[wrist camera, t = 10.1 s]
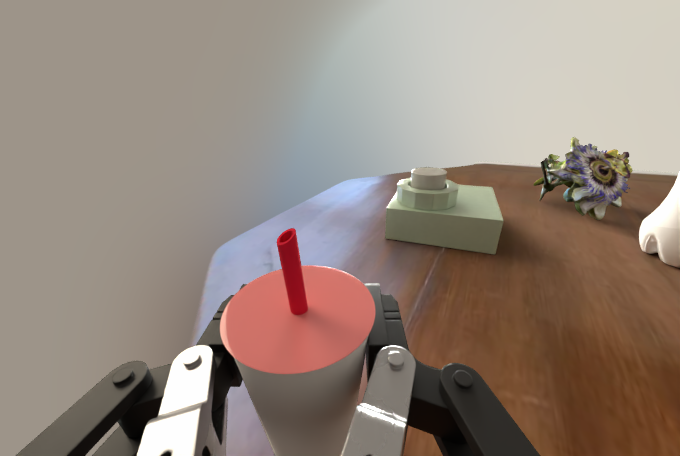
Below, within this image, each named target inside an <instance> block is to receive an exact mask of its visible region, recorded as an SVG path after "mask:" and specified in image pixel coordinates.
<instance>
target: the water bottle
mask: <svg viewBox="0 0 680 456" xmlns="http://www.w3.org/2000/svg"><path fill="white" fill-rule="evenodd" d="M639 242H640V246H641V249H642V250H643V251H644V252H646V253H649V254H653V253H658V255H659V258H660V260H661V261H663V262H664V263H666V264H668V265H671V266H674V267H678V268H680V172H679V175H678V177H677V180H676V182H675V185H674V186H673V188H672V190H671V191H670V193H669V195H668V196H667V197H666V199H665V200H664V201H663V202H662V204H661V205H660V206H659V207H658V208H657V209H656V210H655V211H654V212H652V213H651V214H650V215H649V216H647V217H646V218H645V219H644V220H643V221H642V224H641V227H640V231H639Z"/></svg>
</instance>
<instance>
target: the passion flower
mask: <svg viewBox="0 0 680 456" xmlns="http://www.w3.org/2000/svg"><path fill="white" fill-rule="evenodd" d="M606 152H607V151H605V152H603V151H601V152H600V151H597V147H596V146H592V144H588V146H587V145H585V146H582V145H580V144H579V140H578V139H576V138H574V137H573V138H572V139H571V152H569V153H567V154H566V155H565V156H566V160H565V161H563V162H559V161H554V160H557V159H558V158H559V156H556V155H553V154H550V155H549V157H548V159H547V158H546V159H545V160H544V161H542V162H541V168H542V171H543V175H544V177H542V178H541V179H539V180H537V181H536V182H535V183H534V186H536V185H540V184H543V189H542V192H541V196H540V200H541V199H542V198H543V196H544V194H545V193H546V192H548V191H551V190H553V189H554V188H555V187H556V186H558V185H562V184H565V185H566V186H568V187H570V188H568V189H567V190H566V192H565V193H564V196H563V197H564V199H565V200H566V201H567V202H574V203H575V207H576V210H577V211H578V212H579V213H580V214H581V215H583V216H584V215H585V214H586V213H588V214H589V215H590V216H591V217H593V218H594V219H596V220H600V219H602V218H603V217H604V214H605V210H606V206H608V205H609V204H611V205H613V206H616V207H620V206H621V198H620V197H621V196H622V193H623V192H625V190H627V188H628V187H627V186H628V185H627V184H626V182H627V180H628V178H629V177H630V173H631V172H632V168H631V166H630V165H629V164H628V162H629V160H628V159H627V158H628V157H629V153H628V152H624V153H623V154H622V155H620V154H618V150H611V151H608V152H607V153H606ZM616 157H617V158H616ZM549 164H551V167H548V165H549ZM545 169H547V171H548V172H547V173H548V174H547V175H546V171H545ZM555 179H558V180H557V181H555V182H554V183H552V181H554V180H555ZM560 181H561V182H560ZM629 189H630V188H629ZM626 193H628V192H626ZM619 196H620V197H619Z"/></svg>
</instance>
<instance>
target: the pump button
mask: <svg viewBox="0 0 680 456" xmlns="http://www.w3.org/2000/svg"><path fill="white" fill-rule="evenodd" d="M446 177H447V171H445V170H443V169H439V168H430V167H428V168H427V167H424V168H416V169H413V170H412V171H411V183H410V187H412V188H416V189H419V190H431V191H432V190H442V189H445V184H446Z"/></svg>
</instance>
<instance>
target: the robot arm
mask: <svg viewBox="0 0 680 456" xmlns="http://www.w3.org/2000/svg"><path fill="white" fill-rule="evenodd" d="M246 285H247V284H243V285H242V286H241V288H240V290H241V289H242V288H243V287H244V286H246ZM364 285H365V286H366V288H367V289H368V290H369V292H370V293H371V295H372V297H373V300H374V303H375V320H374V324H373V327H372V329H371V331H370V333H369V335H368V341H367V346H366V365H367V381H368V385H367V388H366V391H365V394H364V397H363V400H362V403H361V405H358V406H357V408H356V410H355V413H354V416H353V419H352V422H351V425H350V428H349V431H348V434H347V437H346V440H345V443H344V446H343V449H342V452H341V455H340V456H403V454H404V448H405V441H406V435H407V428H408V425H409V426H411V427H414V428H417V429H419V430H422V431H425V432H427V433H430V434H433V436H434V438H435V440H436V442H437V444H438V446H439V448H440V450H441V452H442V455H443V456H540V455H539V453H538V452H537V451H536V449H535V448H534V447H533V445H532V444H531V443H530V441H529V440H528V439H527V437H526V436H525V435H524V433H523V432H522V431H521V429H520V428H519V427H518V425H517V424H516V423H515V421H514V420H513V419H512V417H511V416H510V415H509V413H508V412H507V411H506V409H505V408H504V407H503V405H502V404H501V403H500V401H499V400H498V399H497V397H496V396H495V395H494V393H493V392H492V391H491V389H490V388H489V387H488V385H487V384H486V383H485V381H484V380H483V379H482V377H481V376H480V375H479V374H478V373H477V372H476V371H475V370H473V369H472V368H470V367H469V366H466V365H464V364H460V363H450V364H447V365H446V366H444V367H443V369H442V370H440V369H437V368H434V367H430V366H427V365H425V364H423V363H421V362H419V361H418V360H417V359H415V358H414V357H413V355H412V354H411V353H410V351H409V349H408V345H407V341H406V337H405V332H404V328H403V324H402V320H401V315H400V312H399V307H398V303H397V301H396V300H395V299H394V297H393V296H392V295H381V291H380V285H379V284H364ZM233 296H234V295H231V296H230V297H229V298H227V299H226V300H225V301H224V302H223V303H222V304H221V306H220V307H219V309H218V311H217V313H216V314H215V315H214V317H213V320H211V322H210V324H209V325H208V327H207V328H206V330H205V332H204V333H203V335H202V336H201V338H200V340H199V341H198V343H197V345H196V346H193V347H191V348H188V349H186V350H185V351H183V352H182V353H180V354H179V355H178V356H177V357H176V359H175V360H174V361H173V363H172V364H168V365H165V366H161V367H157V368H153V369H148V367H147V365H146V363H144V362H142V361H132V362H128V363H126V364H123V365H121V366H119V367H117V368H116V369H114V370H113V371H111V372H110V373H109V374H108V375H107V376H106V377H104V378H103V379H102V380H101V381H100V382H99V383H98V384H96V386H94V387H93V388H92V389H91V390H90V391H89V392H87V393H86V394H85V395H84V396H83V397H82V398H81V399H79V400H78V401H77V402H76V403H75V404H74V405H73V406H71V407H70V408H69V409H68V410H67V411H66V412H65V413H63V414H62V415H61V416H60V417H59V418H58V419H57V420H56V421H54V422H53V423H52V424H51V425H50V426H49V427H48V428H46V429H45V430H44V431H43V432H42V433H41V434H40V435H38V436H37V437H36V438H35V439H34V440H33V441H32V442H31V443H29V444H28V445H27V446H26V447H25V448H24V449H22V450H21V451H20V452H19V453H18V454H17V455H16V456H85V455H86V454H87V453H88V452H89V450H91V449H92V448H93V446H94V445H95V444H96V443H97V442H98V441H99V440H100V439H101V438H102V437H103V436H104V435H105V433H107V432H108V431H109V430H110V428H111V427H112V426H113V425H114V424H115V423H116V422H118V423H119V425H120V426H119V427H118V428H117V429H116V430H115V431H114V432H113V434H112V435H111V436H110V437H109V438H108V439H107V440H106V441H105V442H104V443H103V444H102V445H101V446H100V447H99V449H98V450H97V451H96V452H95V453H94V454H93V455H92V456H226V434H227V411H228V398H227V393H228V391H229V388H230V387H240V385H241V382H242V380H243V378H242V376H241V373H240V371H239V368H238V366H237V364H236V361H235V359H234V357H233V356H232V355H231V354H230V353H229V352H228V350H227V349H226V347H225V346H224V344H223V342H222V339H221V335H220V322H221V317H222V314H223V312H224V310H225V308H226V306H227V304H228V303H229V301H230V300H231V299H232V298H233Z"/></svg>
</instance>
